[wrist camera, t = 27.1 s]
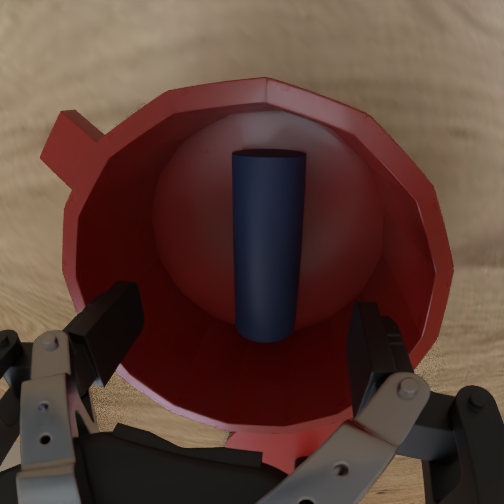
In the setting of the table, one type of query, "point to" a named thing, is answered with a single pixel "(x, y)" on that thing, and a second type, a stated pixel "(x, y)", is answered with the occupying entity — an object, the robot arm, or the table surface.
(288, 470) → the pot lid
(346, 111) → the pot
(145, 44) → the table surface
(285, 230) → the tube
